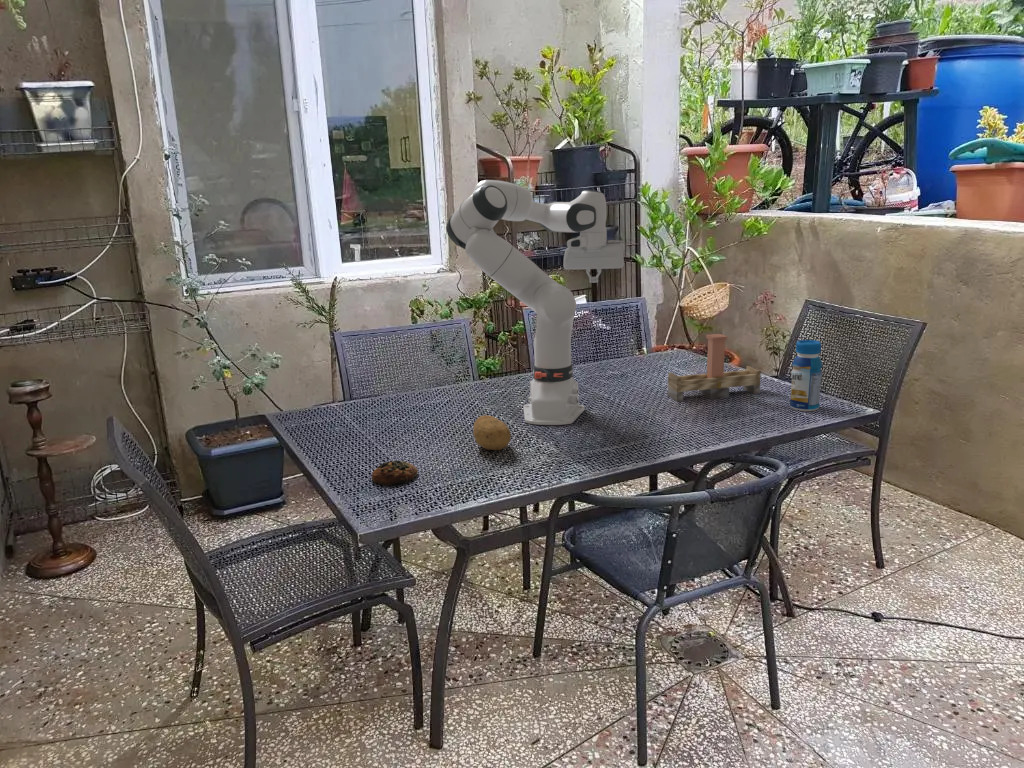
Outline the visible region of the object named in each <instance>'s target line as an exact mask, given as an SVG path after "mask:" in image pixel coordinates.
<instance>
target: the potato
mask: <svg viewBox="0 0 1024 768" xmlns="http://www.w3.org/2000/svg"><path fill="white" fill-rule="evenodd" d="M472 430H473V437H474V439H475V442H476V444H477V445H479V447H482V448H484V449H485V450H491V451H500V450H502V449H504V448H506V447H507V446H508V445H509V443H510V442H511V437H512V434H511V431H510V429H509V427H508V426H507V424H506V423H505V422H504V421H502V420H500V419H498V418H497V417H495V416H492V415H487V414H486V415H481V416H478V418H477V419H476V420H475V421H474V424H473V429H472Z"/></svg>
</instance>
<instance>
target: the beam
mask: <svg viewBox="0 0 1024 768" xmlns="http://www.w3.org/2000/svg"><path fill="white" fill-rule="evenodd" d="M761 375H762V371H761V370H759V369H757V368H755V367H753V366H751V365H746V369H743V370H742V369H741V370H733V371H724V375H723V377H714V378H707V373H699V374H687V375H686V374H685V375H677V374H675V373H673V372H668V377H667V378H668V379H667V396H669V397H670V398H671V399H672V398H673V400H674V401H675V402H683V401H684V398H683V397H684V392H691V391H692V392H693V391H694V392H695V391H698V392H699V393H700V394H702V395H704V396H705V397H707V398H709V399H710V400H716V399H726V398H730V388H736V387H737V388H738V387H742V388H743V390H745V391H747V392H749V393H751V394H752V395H758V393H761V378H762V377H761Z"/></svg>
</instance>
